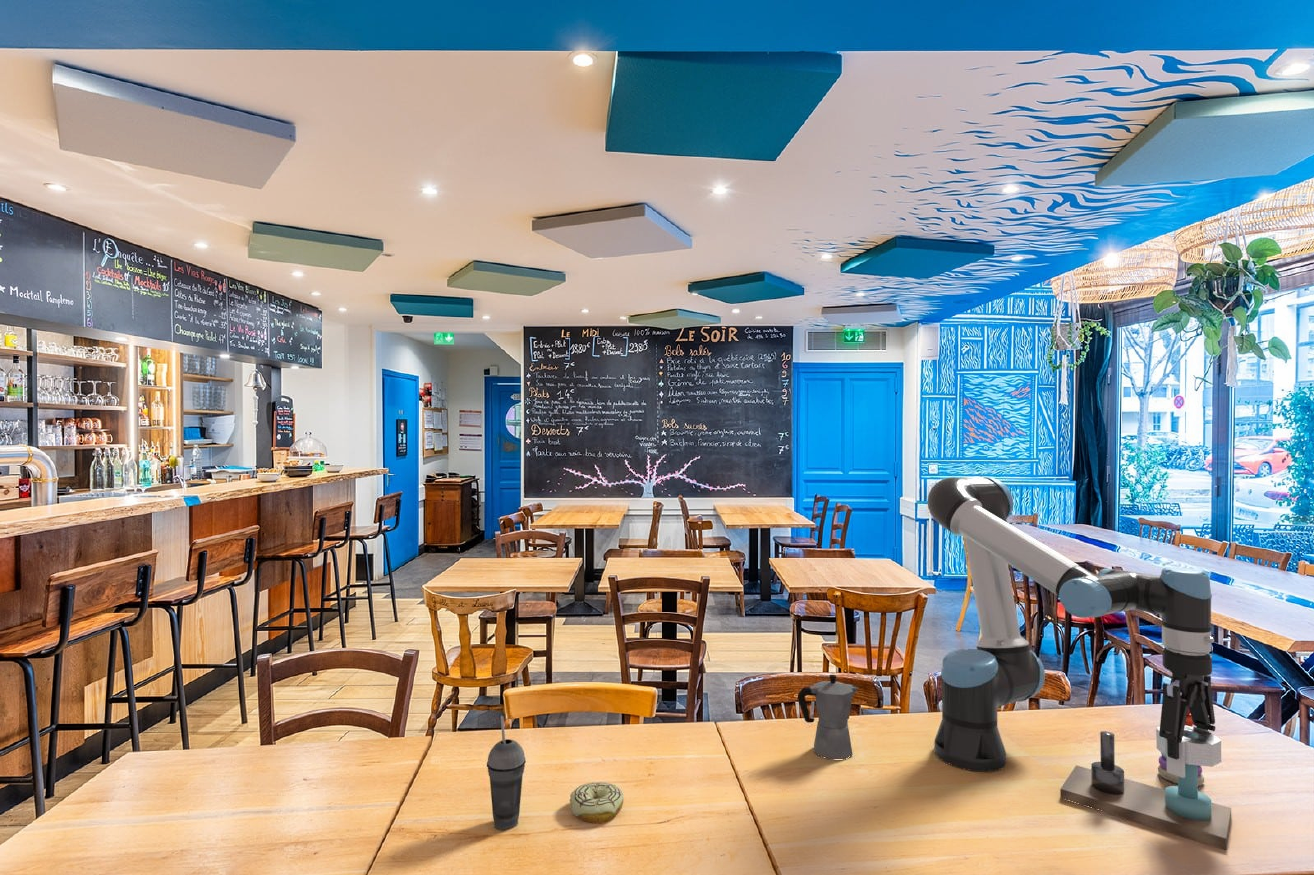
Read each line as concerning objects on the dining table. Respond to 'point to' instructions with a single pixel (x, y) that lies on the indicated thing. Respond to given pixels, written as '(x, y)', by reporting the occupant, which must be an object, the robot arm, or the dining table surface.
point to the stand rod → (1107, 768)
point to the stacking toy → (1163, 761)
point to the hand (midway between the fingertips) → (1188, 768)
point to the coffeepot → (830, 717)
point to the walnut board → (1147, 808)
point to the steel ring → (1196, 747)
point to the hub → (1188, 797)
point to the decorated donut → (596, 802)
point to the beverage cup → (506, 781)
